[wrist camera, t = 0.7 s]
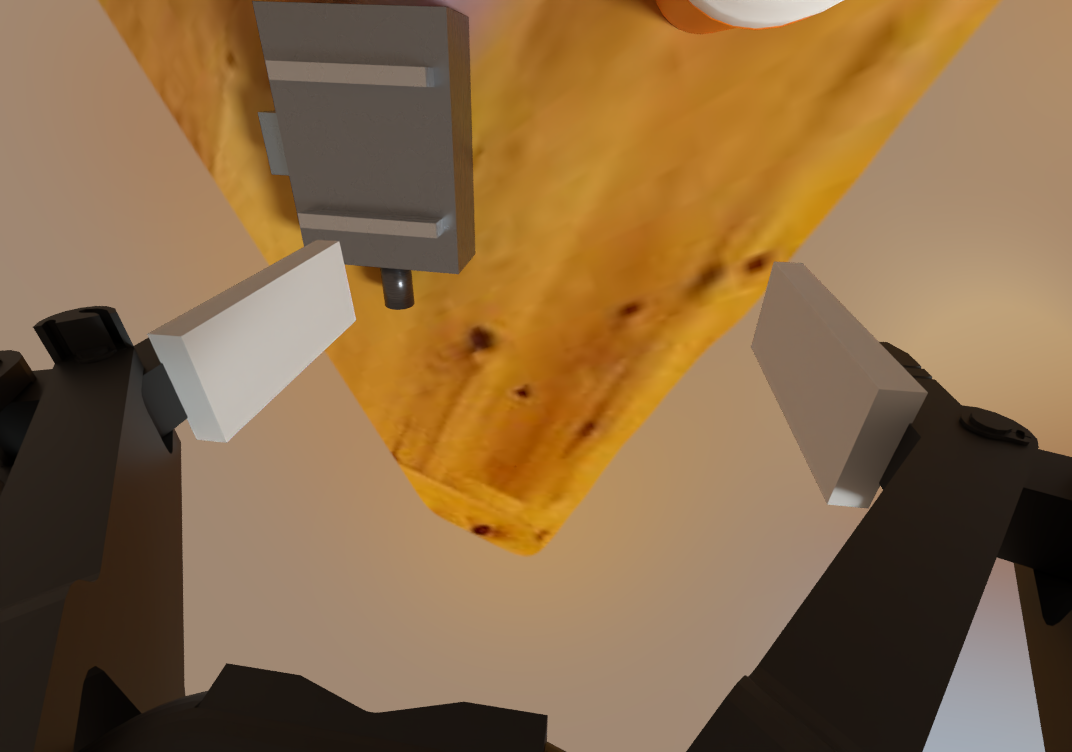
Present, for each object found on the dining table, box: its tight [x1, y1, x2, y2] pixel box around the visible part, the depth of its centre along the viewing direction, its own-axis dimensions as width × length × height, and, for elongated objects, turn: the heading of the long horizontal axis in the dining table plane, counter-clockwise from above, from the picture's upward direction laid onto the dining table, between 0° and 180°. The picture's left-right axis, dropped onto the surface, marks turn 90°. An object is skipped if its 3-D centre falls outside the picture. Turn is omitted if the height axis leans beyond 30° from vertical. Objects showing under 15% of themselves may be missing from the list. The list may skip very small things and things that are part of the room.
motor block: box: [252, 1, 475, 310], centre depth 35 cm, size 20×14×6 cm
